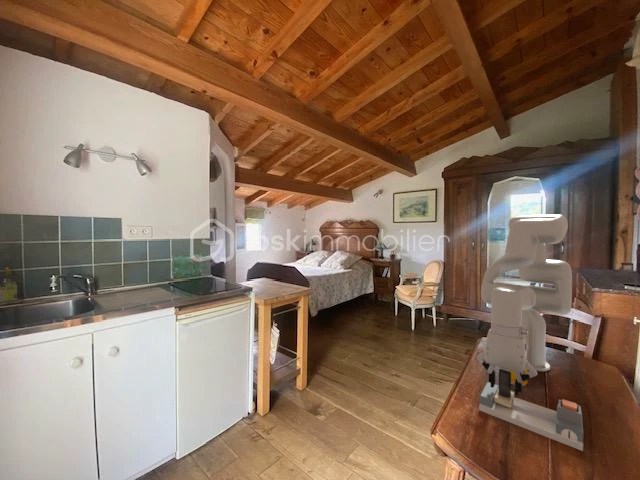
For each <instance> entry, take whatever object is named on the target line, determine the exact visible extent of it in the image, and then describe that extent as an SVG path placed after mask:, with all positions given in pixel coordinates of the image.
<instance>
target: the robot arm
mask: <svg viewBox="0 0 640 480" xmlns="http://www.w3.org/2000/svg"><path fill="white" fill-rule="evenodd" d="M568 222H569V221H568V219H567V218H566V216H565V215H563V214H532V215H531V214H529V215H526V214H525V215H516V216H513V217H511V218H510V219H509V221H508V228H509V229H508V230H509V231H508V235H507V241H506V244H505V245H506V246H505V251H504V254H503V256H501V257H499V258H498V259H496V260H495V261H494V262H493V263H492V264H490V266H489V267H488V268H487V269H486V270H485V273H484V275H483V280H482V285H481V289H480V295H481V299H482V300H483V302H484V303H486V304H488V305H490V307H491V308H490V309H491V310H490V312H491V314H490V328H489V329H488V331H487V335H486V341H485V349H484V350H483V352H481V353H479V354H478V355H477V356H476V359H477V360H478V362H479V363H480V364H481V365H482V367H483V368H484V369H485V370H486V371H487V372H486V373H488V382H489V383H491V387H492V388H493V387H494V385H496V371H495V367H497V368H499V369H507V370H511V371H514V373H515V376H516V381H515V385H514V396H517V397H518V396H519V394H522V391H523V386H522V382H523V381H525V380H527V381H528V380H530V379H531V378H534V377H537V376H538V372H547V371H550V370H551V365H550V364H549V363H548V362H547V361H546V340H547V339H546V334H547V333H546V332H547V331H546V330H547V323H546V320H545V318H544V317H543V316H542V315H541V313H540V312H543V313H548V314H554V315H555V314H556V315H561V316H565V315H567V314H570V312H571V311H572V305H573V302H572V301H573V272H572V266H571V265H570V264H569V262H567V261H564V260H560V259H547V257H546V256H547V255H546V254H547V253H546V251H547V247H546V245H545V244H550V245H551V244H552V245H553V244H559V243H561V242H562V241H563V239H564V238H565V236H566V234H567V232H568V229H569V223H568ZM515 270H518V277H519V279H520V280H521V281H523V282H527V283H532V284H533V283H534V284H541V285H550V286H553V287H547V286H540V285H539V286H538V285H537V286H536V285H528V284H527V285H526V284H524V285H523V284H512V283H505V282H499V281H498V282H497V281H496V280H497V278H499V277H500V276H501V275H503V274H505V273H508V272H511V271H515ZM526 342H527V344H528V361H527V347H526ZM526 368H527V369H528V372H527V373H524V372H525V370H526ZM522 373H524V374H522Z"/></svg>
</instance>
